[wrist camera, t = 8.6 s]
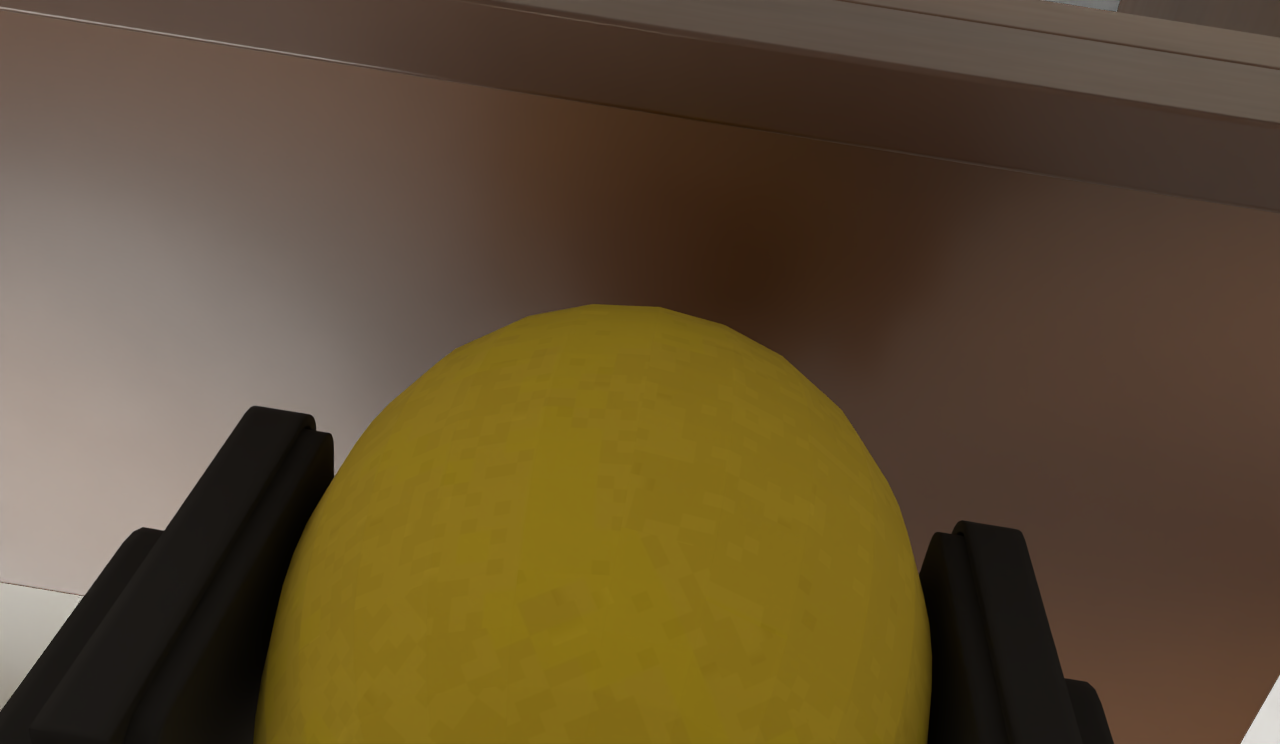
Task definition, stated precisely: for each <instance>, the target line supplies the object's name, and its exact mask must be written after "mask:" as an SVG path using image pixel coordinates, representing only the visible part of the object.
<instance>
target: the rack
mask: <svg viewBox="0 0 1280 744" xmlns="http://www.w3.org/2000/svg"><path fill="white" fill-rule="evenodd" d="M591 304H601V305H625V306H648V307H662V308H665V309H669V310H672V311H676V312H680V313H683V314H687V315H690V316H694V317H698V318H701V319H705V320H709V321H712V322H716V323H719V324H723V325H726V326H728V327H729V328H731V329H733V330H735V331H737V332H739V333H740V334H742V335H744V336H746V337H748V338H750V339H752V340H753V341H755V342H757V343H759V344H761V345H763V346H765V347H766V348H768V349H770V350H772V351H774V352H776V353H778V354H779V355H781V356H783V357H784V358H785V359H786V360H787V361H788V362H789V363H790V364H792V365H793V366H794V367H795V368H796V369H797V370H798V371H799V372H800V373H802V374H803V375H804V376H805V377H806V378H807V379H808V380H809V381H810V382H812V383H813V384H814V385H815V386H816V387H817V388H818V389H819V390H820V391H822V392H823V393H824V394H825V395H826V396H827V397H828V398H829V399H830V400H831V401H833V402H834V403H835V404H836V405H837V406H838V407H839V408H840V409H841V410H842V411H843V413H844V414H845V416H846V417H847V419H848V420H849V422H850V423H851V425H852V426H853V428H854V429H855V431H856V432H857V434H858V435H859V437H860V439H861V440H862V442H863V443H864V445H865V447H866V448H867V450H868V451H869V453H870V455H871V456H872V458H873V459H874V461H875V462H876V464H877V466H878V467H879V469H880V470H881V472H882V474H883V475H884V477H885V478H886V480H887V482H888V483H889V486H890V488H891V490H892V492H893V494H894V496H895V498H896V500H897V503H898V505H899V507H900V511H901V514H902V517H903V520H904V523H905V526H906V529H907V533H908V536H909V540H910V544H911V548H912V552H913V555H914V559H915V563H916V567H917V571H918V575H919V573H920V570H921V567H922V564H923V561H924V558H925V555H926V552H927V549H928V546H929V543H930V541H931V538H932V536H933V535H934V533H936V532H943V533H949V534H951V533H952V531H953V528H954V527H955V525H956V524H957V522H959V521H961V520H964V521H970V522H976V523H982V524H988V525H995V526H1001V527H1007V528H1013V529H1018V530H1019V531H1021V532H1022V534H1023V536H1024V538H1025V541H1026V545H1027V548H1028V552H1029V555H1030V559H1031V562H1032V566H1033V569H1034V573H1035V576H1036V580H1037V583H1038V587H1039V590H1040V594H1041V597H1042V601H1043V605H1044V608H1045V612H1046V615H1047V619H1048V622H1049V626H1050V629H1051V633H1052V636H1053V640H1054V643H1055V647H1056V650H1057V654H1058V657H1059V661H1060V665H1061V668H1062V672H1063V675H1064V678H1067V679H1073V680H1079V681H1085V682H1088V683H1089V684H1090V685H1091V686H1092V687H1093V688H1094V689H1095V690H1096V692H1097V694H1098V697H1099V699H1100V701H1101V703H1102V707H1103V710H1104V713H1105V716H1106V719H1107V723H1108V726H1109V729H1110V732H1111V735H1112V739H1113V742H1114V744H1240V743H1241V742H1242V740H1243V738H1244V736H1245V735H1246V733H1247V731H1248V729H1249V728H1250V726H1251V724H1252V722H1253V721H1254V719H1255V717H1256V715H1257V714H1258V712H1259V710H1260V708H1261V707H1262V705H1263V703H1264V701H1265V700H1266V698H1267V696H1268V694H1269V693H1270V691H1271V689H1272V687H1273V686H1274V684H1275V682H1276V680H1277V679H1278V677H1279V675H1280V0H1121V1H1120V4H1119V7H1118V10H1117V12H1114V11H1108V10H1101V9H1095V8H1088V7H1082V6H1076V5H1069V4H1063V3H1057V2H1050V1H1044V0H0V582H2V583H8V584H14V585H20V586H26V587H32V588H38V589H44V590H50V591H56V592H62V593H69V594H75V595H81V596H85V594H86V593H87V591H88V590H89V589H90V587H91V586H92V585H93V583H94V582H95V580H96V579H97V578H98V576H99V575H100V574H101V572H102V571H103V569H104V568H105V567H106V565H107V564H108V563H109V561H110V560H111V558H112V557H113V556H114V554H115V553H116V551H117V550H118V549H119V547H120V546H121V545H122V543H123V542H124V541H125V540H126V539H127V538H128V537H129V536H130V534H131V533H132V532H133V531H135V530H138V529H140V528H142V527H146V528H152V529H158V530H165V529H166V527H167V526H168V524H169V523H170V521H171V520H172V519H173V517H174V516H175V514H176V513H177V511H178V510H179V508H180V507H181V505H182V504H183V503H184V501H185V500H186V498H187V497H188V495H189V494H190V492H191V491H192V490H193V488H194V487H195V485H196V484H197V482H198V481H199V479H200V478H201V476H202V475H203V474H204V472H205V471H206V469H207V468H208V466H209V465H210V463H211V462H212V460H213V459H214V458H215V456H216V455H217V453H218V452H219V450H220V449H221V447H222V446H223V444H224V443H225V442H226V440H227V439H228V437H229V436H230V434H231V433H232V431H233V430H234V428H235V427H236V426H237V424H238V423H239V421H240V420H241V418H242V417H243V415H244V414H245V413H246V411H247V410H248V409H249V408H250V407H252V406H262V407H268V408H274V409H280V410H286V411H292V412H299V413H305V414H311V415H312V416H313V417H314V419H315V422H316V430H317V431H321V432H327V433H330V434H332V437H333V441H334V477H335V475H336V474H337V472H338V470H339V469H340V467H341V466H342V464H343V462H344V461H345V459H346V458H347V456H348V455H349V453H350V451H351V450H352V448H353V447H354V445H355V443H356V442H357V441H358V439H359V438H360V437H361V435H362V434H363V433H364V431H365V430H366V429H367V427H368V426H369V425H370V423H371V422H372V421H373V420H374V419H375V418H376V417H377V416H378V415H379V414H380V413H381V412H382V411H383V410H384V408H385V407H386V406H387V405H388V404H389V403H390V402H392V401H393V400H394V399H395V398H396V397H397V396H399V395H400V394H401V393H402V392H403V391H405V390H406V389H407V388H408V387H409V386H410V385H412V384H413V383H414V382H415V381H416V380H417V379H419V378H420V377H421V376H422V375H423V374H425V373H426V372H427V371H428V370H429V369H430V368H432V367H433V366H434V365H435V364H436V363H438V362H439V361H440V360H441V359H443V358H444V357H445V356H447V355H448V354H449V353H451V352H452V351H453V350H455V349H456V348H458V347H461V346H463V345H465V344H467V343H469V342H472V341H474V340H476V339H478V338H481V337H483V336H485V335H487V334H489V333H492V332H494V331H496V330H498V329H501V328H503V327H505V326H507V325H509V324H512V323H514V322H516V321H518V320H521V319H523V318H525V317H527V316H531V315H536V314H542V313H547V312H553V311H558V310H563V309H569V308H574V307H580V306H585V305H591Z"/></svg>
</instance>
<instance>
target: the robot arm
mask: <svg viewBox="0 0 1280 744" xmlns="http://www.w3.org/2000/svg"><path fill="white" fill-rule="evenodd" d="M333 478H334V441H333V437H332V434H330V433H327V432H321V431H317V430H316V422H315V419H314V417H313V416H312V415H311V414H305V413H299V412H292V411H286V410H280V409H274V408H268V407H262V406H252V407H250V408H249V409H248V410H247V411H246V413H245V414H244V415H243V417H242V418H241V420H240V421H239V423H238V424H237V426H236V427H235V428H234V430H233V431H232V433H231V434H230V436H229V437H228V439H227V440H226V442H225V443H224V444H223V446H222V447H221V449H220V450H219V452H218V453H217V455H216V456H215V458H214V459H213V460H212V462H211V463H210V465H209V466H208V468H207V469H206V471H205V472H204V474H203V475H202V476H201V478H200V479H199V481H198V482H197V484H196V485H195V487H194V488H193V490H192V491H191V492H190V494H189V495H188V497H187V498H186V500H185V501H184V503H183V504H182V505H181V507H180V508H179V510H178V511H177V513H176V514H175V516H174V517H173V519H172V520H171V521H170V523H169V524H168V526H167V527H166V529H165V530H158V529H152V528H146V527H142V528H140V529H138V530H135V531H133V532H132V533H131V534H130V536H129V537H128V538H127V539H126V540H125V541H124V542H123V543H122V545H121V546H120V547H119V549H118V550H117V551H116V553H115V554H114V556H113V557H112V558H111V560H110V561H109V563H108V564H107V565H106V567H105V568H104V569H103V571H102V572H101V574H100V575H99V576H98V578H97V579H96V580H95V582H94V583H93V585H92V586H91V587H90V589H89V590H88V591H87V593H86V594H85V596H84V597H83V598H82V600H81V601H80V603H79V604H78V605H77V607H76V608H75V609H74V611H73V612H72V614H71V615H70V616H69V618H68V619H67V620H66V622H65V623H64V625H63V626H62V627H61V629H60V630H59V631H58V633H57V634H56V636H55V637H54V638H53V640H52V641H51V643H50V644H49V645H48V647H47V648H46V649H45V651H44V652H43V654H42V655H41V656H40V658H39V659H38V660H37V662H36V663H35V665H34V666H33V667H32V669H31V670H30V671H29V673H28V674H27V676H26V677H25V678H24V680H23V681H22V683H21V684H20V685H19V687H18V688H17V689H16V691H15V692H14V694H13V695H12V696H11V698H10V699H9V700H8V702H7V703H6V705H5V706H4V707H3V709H2V710H1V711H0V744H253V740H254V727H255V715H256V709H257V703H258V697H259V690H260V684H261V678H262V674H263V669H264V665H265V660H266V656H267V651H268V647H269V642H270V638H271V633H272V629H273V625H274V620H275V616H276V612H277V608H278V603H279V599H280V595H281V591H282V586H283V583H284V580H285V577H286V574H287V571H288V568H289V565H290V562H291V559H292V556H293V553H294V551H295V548H296V546H297V544H298V541H299V539H300V537H301V535H302V532H303V530H304V528H305V526H306V523H307V522H308V520H309V518H310V516H311V515H312V513H313V511H314V510H315V508H316V506H317V504H318V503H319V501H320V499H321V497H322V496H323V494H324V493H325V491H326V489H327V488H328V486H329V485H330V483H331V482H332V480H333ZM919 578H920V582H921V586H922V590H923V594H924V599H925V604H926V609H927V614H928V619H929V625H930V637H931V649H932V692H931V704H930V717H929V729H928V741H927V744H1114V742H1113V739H1112V735H1111V732H1110V729H1109V726H1108V723H1107V719H1106V716H1105V713H1104V710H1103V707H1102V703H1101V701H1100V699H1099V697H1098V694H1097V692H1096V690H1095V689H1094V688H1093V687H1092V686H1091V685H1090V684H1089V683H1088V682H1085V681H1079V680H1073V679H1067V678H1064V675H1063V672H1062V668H1061V665H1060V661H1059V657H1058V654H1057V650H1056V647H1055V643H1054V640H1053V636H1052V633H1051V629H1050V626H1049V622H1048V619H1047V615H1046V612H1045V608H1044V605H1043V601H1042V597H1041V594H1040V590H1039V587H1038V583H1037V580H1036V576H1035V573H1034V569H1033V566H1032V562H1031V559H1030V555H1029V552H1028V548H1027V545H1026V541H1025V538H1024V536H1023V534H1022V532H1021V531H1019V530H1018V529H1013V528H1007V527H1001V526H995V525H988V524H982V523H976V522H970V521H964V520H961V521H959V522H957V524H956V525H955V527H954V528H953V531H952V533H951V534H949V533H943V532H936V533H934V535H933V536H932V538H931V541H930V543H929V546H928V549H927V552H926V555H925V558H924V561H923V564H922V567H921V570H920V573H919Z"/></svg>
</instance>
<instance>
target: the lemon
mask: <svg viewBox="0 0 1280 744" xmlns="http://www.w3.org/2000/svg"><path fill="white" fill-rule="evenodd" d="M931 692H932V649H931V637H930V625H929V619H928V614H927V609H926V604H925V599H924V594H923V590H922V586H921V582H920V578H919V575H918V571H917V567H916V563H915V559H914V555H913V552H912V548H911V544H910V540H909V536H908V533H907V529H906V526H905V523H904V520H903V517H902V514H901V511H900V507H899V505H898V503H897V500H896V498H895V496H894V494H893V492H892V490H891V488H890V486H889V483H888V482H887V480H886V478H885V477H884V475H883V474H882V472H881V470H880V469H879V467H878V466H877V464H876V462H875V461H874V459H873V458H872V456H871V455H870V453H869V451H868V450H867V448H866V447H865V445H864V443H863V442H862V440H861V439H860V437H859V435H858V434H857V432H856V431H855V429H854V428H853V426H852V425H851V423H850V422H849V420H848V419H847V417H846V416H845V414H844V413H843V411H842V410H841V409H840V408H839V407H838V406H837V405H836V404H835V403H834V402H833V401H831V400H830V399H829V398H828V397H827V396H826V395H825V394H824V393H823V392H822V391H820V390H819V389H818V388H817V387H816V386H815V385H814V384H813V383H812V382H810V381H809V380H808V379H807V378H806V377H805V376H804V375H803V374H802V373H800V372H799V371H798V370H797V369H796V368H795V367H794V366H793V365H792V364H790V363H789V362H788V361H787V360H786V359H785V358H784V357H783V356H781V355H779V354H778V353H776V352H774V351H772V350H770V349H768V348H766V347H765V346H763V345H761V344H759V343H757V342H755V341H753V340H752V339H750V338H748V337H746V336H744V335H742V334H740V333H739V332H737V331H735V330H733V329H731V328H729V327H728V326H726V325H723V324H719V323H716V322H712V321H709V320H705V319H701V318H698V317H694V316H690V315H687V314H683V313H680V312H676V311H672V310H669V309H665V308H662V307H648V306H625V305H601V304H591V305H585V306H580V307H574V308H569V309H563V310H558V311H553V312H547V313H542V314H536V315H531V316H527V317H525V318H523V319H521V320H518V321H516V322H514V323H512V324H509V325H507V326H505V327H503V328H501V329H498V330H496V331H494V332H492V333H489V334H487V335H485V336H483V337H481V338H478V339H476V340H474V341H472V342H469V343H467V344H465V345H463V346H461V347H458V348H456V349H455V350H453V351H452V352H451V353H449V354H448V355H447V356H445V357H444V358H443V359H441V360H440V361H439V362H438V363H436V364H435V365H434V366H433V367H432V368H430V369H429V370H428V371H427V372H426V373H425V374H423V375H422V376H421V377H420V378H419V379H417V380H416V381H415V382H414V383H413V384H412V385H410V386H409V387H408V388H407V389H406V390H405V391H403V392H402V393H401V394H400V395H399V396H397V397H396V398H395V399H394V400H393V401H392V402H390V403H389V404H388V405H387V406H386V407H385V408H384V410H383V411H382V412H381V413H380V414H379V415H378V416H377V417H376V418H375V419H374V420H373V421H372V422H371V423H370V425H369V426H368V427H367V429H366V430H365V431H364V433H363V434H362V435H361V437H360V438H359V439H358V441H357V442H356V443H355V445H354V447H353V448H352V450H351V451H350V453H349V455H348V456H347V458H346V459H345V461H344V462H343V464H342V466H341V467H340V469H339V470H338V472H337V474H336V475H335V477H334V478H333V480H332V482H331V483H330V485H329V486H328V488H327V489H326V491H325V493H324V494H323V496H322V497H321V499H320V501H319V503H318V504H317V506H316V508H315V510H314V511H313V513H312V515H311V516H310V518H309V520H308V522H307V523H306V526H305V528H304V530H303V532H302V535H301V537H300V539H299V541H298V544H297V546H296V548H295V551H294V553H293V556H292V559H291V562H290V565H289V568H288V571H287V574H286V577H285V580H284V583H283V586H282V591H281V595H280V599H279V603H278V608H277V612H276V616H275V620H274V625H273V629H272V633H271V638H270V642H269V647H268V651H267V656H266V660H265V665H264V669H263V674H262V678H261V684H260V690H259V697H258V703H257V709H256V715H255V727H254V740H253V744H927V741H928V729H929V717H930V704H931Z"/></svg>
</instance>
